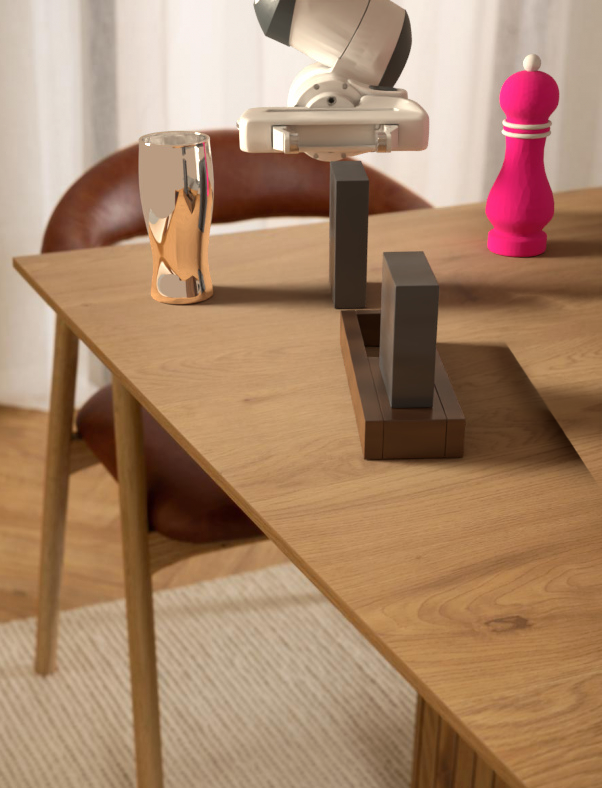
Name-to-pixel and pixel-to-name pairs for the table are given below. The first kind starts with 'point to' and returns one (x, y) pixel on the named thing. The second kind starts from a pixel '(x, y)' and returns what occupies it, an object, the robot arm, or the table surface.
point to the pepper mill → (523, 164)
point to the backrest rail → (396, 421)
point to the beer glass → (177, 212)
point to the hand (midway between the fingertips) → (338, 145)
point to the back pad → (348, 233)
